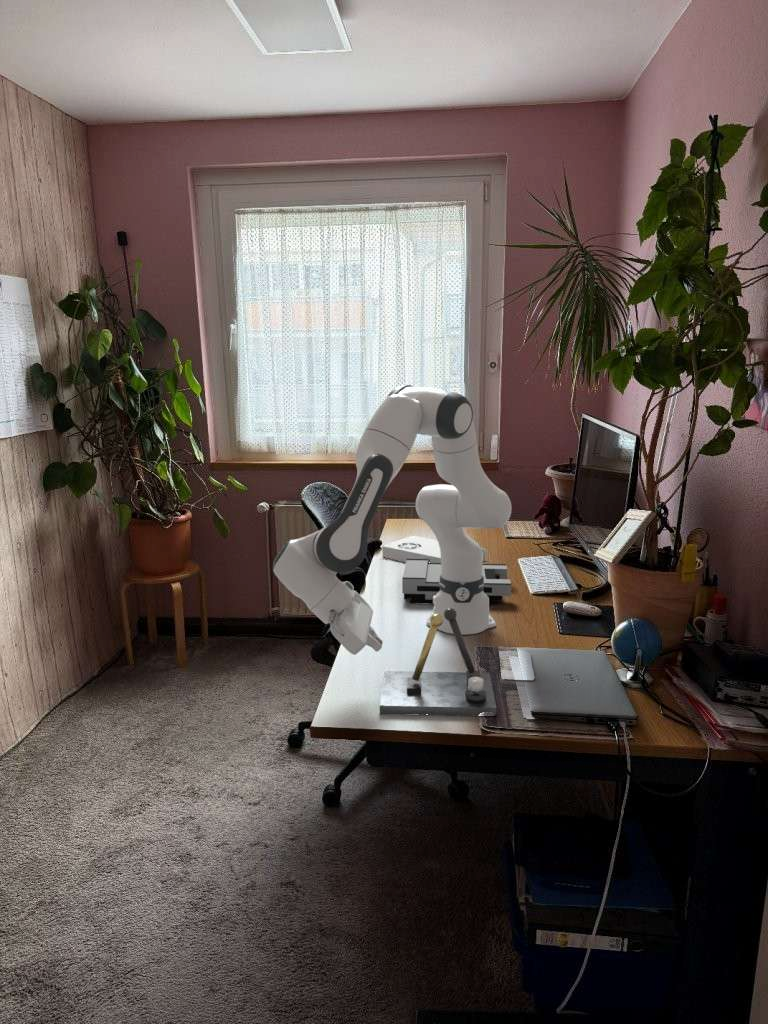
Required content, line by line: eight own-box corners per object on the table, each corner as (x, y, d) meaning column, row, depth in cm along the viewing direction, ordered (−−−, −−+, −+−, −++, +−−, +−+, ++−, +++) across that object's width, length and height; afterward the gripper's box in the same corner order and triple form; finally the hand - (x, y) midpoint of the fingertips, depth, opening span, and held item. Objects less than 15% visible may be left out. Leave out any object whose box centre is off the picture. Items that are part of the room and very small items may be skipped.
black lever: (465, 670, 155) (441, 608, 152) (477, 667, 154) (453, 604, 151) (466, 676, 152) (442, 613, 149) (478, 672, 152) (454, 608, 149)
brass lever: (409, 674, 151) (432, 610, 148) (421, 677, 151) (444, 614, 148) (409, 679, 149) (432, 614, 145) (421, 683, 149) (444, 618, 145)
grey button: (467, 684, 147) (467, 676, 147) (482, 684, 147) (482, 676, 146) (468, 691, 144) (468, 683, 143) (483, 691, 144) (484, 683, 143)
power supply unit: (457, 575, 235) (458, 561, 234) (382, 559, 255) (381, 546, 254) (486, 562, 249) (486, 549, 248) (412, 547, 269) (412, 535, 268)
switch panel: (384, 679, 159) (384, 666, 158) (489, 681, 158) (489, 668, 157) (379, 714, 144) (379, 700, 143) (496, 716, 142) (496, 702, 141)
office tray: (510, 607, 204) (511, 581, 202) (402, 605, 207) (402, 578, 205) (505, 584, 224) (506, 560, 222) (406, 582, 227) (406, 558, 225)
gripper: (337, 611, 136) (387, 658, 138) (349, 578, 156) (392, 620, 158) (316, 632, 138) (365, 678, 139) (330, 597, 158) (373, 638, 159)
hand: (380, 647), depth 149 cm, fingers closed
